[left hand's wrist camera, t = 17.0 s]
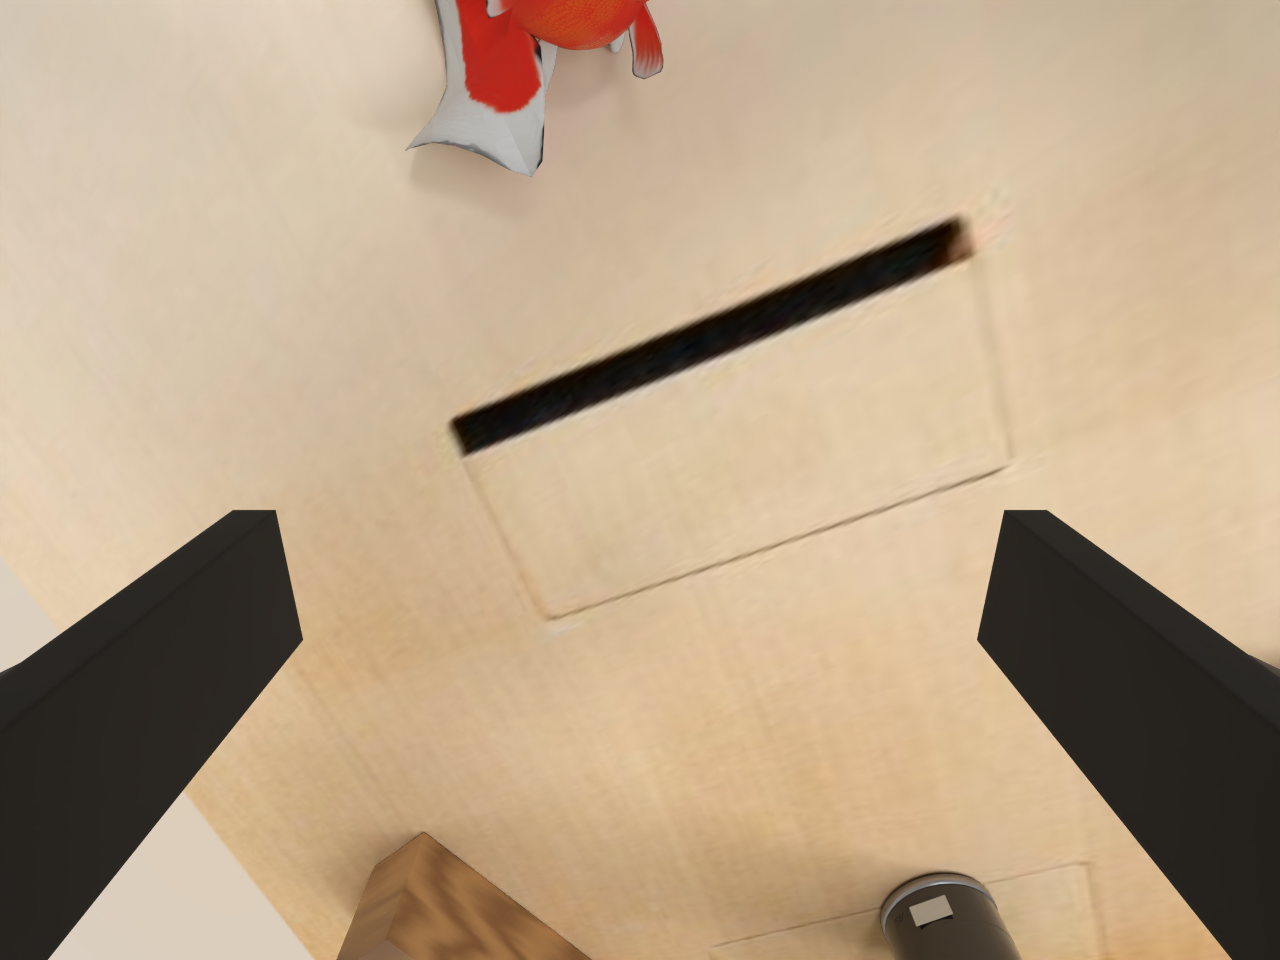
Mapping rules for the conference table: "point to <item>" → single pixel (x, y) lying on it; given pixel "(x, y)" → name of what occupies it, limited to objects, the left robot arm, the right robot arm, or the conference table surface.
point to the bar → (444, 914)
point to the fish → (522, 68)
